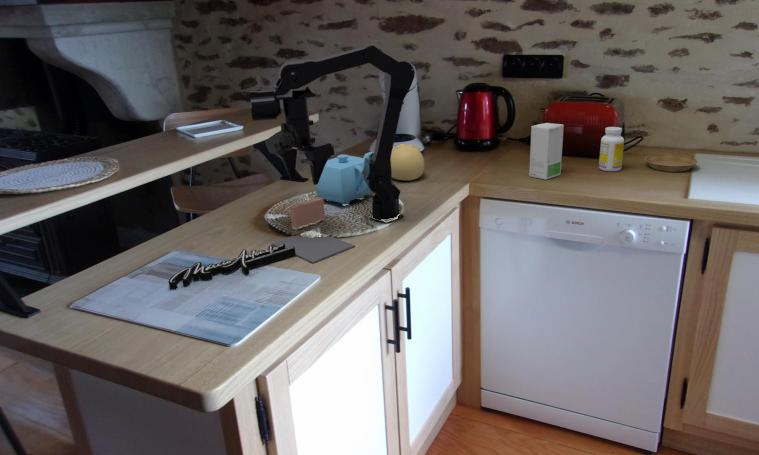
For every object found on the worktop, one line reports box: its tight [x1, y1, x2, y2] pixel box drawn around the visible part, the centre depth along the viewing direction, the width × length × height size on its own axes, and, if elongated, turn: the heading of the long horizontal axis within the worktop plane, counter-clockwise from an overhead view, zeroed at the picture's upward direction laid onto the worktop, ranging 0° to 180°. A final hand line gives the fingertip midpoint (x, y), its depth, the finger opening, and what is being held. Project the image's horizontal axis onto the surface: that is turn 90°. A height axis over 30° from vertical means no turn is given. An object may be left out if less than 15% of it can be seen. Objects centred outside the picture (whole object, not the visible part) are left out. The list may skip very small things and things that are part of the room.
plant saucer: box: [644, 153, 698, 173], centre depth 180 cm, size 15×15×3 cm
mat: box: [270, 235, 356, 264], centre depth 135 cm, size 12×16×1 cm
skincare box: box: [528, 122, 565, 181], centre depth 175 cm, size 8×7×16 cm
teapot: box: [315, 151, 374, 205], centre depth 165 cm, size 18×16×13 cm
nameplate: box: [168, 244, 296, 290], centre depth 124 cm, size 28×2×10 cm
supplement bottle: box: [598, 126, 625, 172], centre depth 179 cm, size 7×7×13 cm
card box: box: [289, 197, 326, 228], centre depth 147 cm, size 9×2×6 cm, turn 134°
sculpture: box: [391, 143, 425, 181], centre depth 181 cm, size 12×12×11 cm
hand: (303, 181), depth 142 cm, fingers open, 9 cm apart
